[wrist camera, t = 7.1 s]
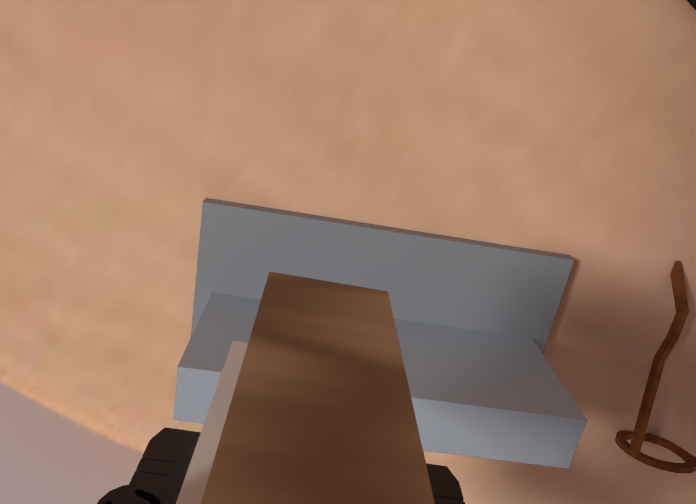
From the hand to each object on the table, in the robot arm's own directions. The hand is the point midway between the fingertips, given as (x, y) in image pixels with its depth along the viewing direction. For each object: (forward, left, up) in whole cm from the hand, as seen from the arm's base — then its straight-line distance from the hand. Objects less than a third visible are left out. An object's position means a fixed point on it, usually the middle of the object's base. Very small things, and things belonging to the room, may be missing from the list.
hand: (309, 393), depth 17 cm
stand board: (+4, -7, -17) cm, 19 cm away
